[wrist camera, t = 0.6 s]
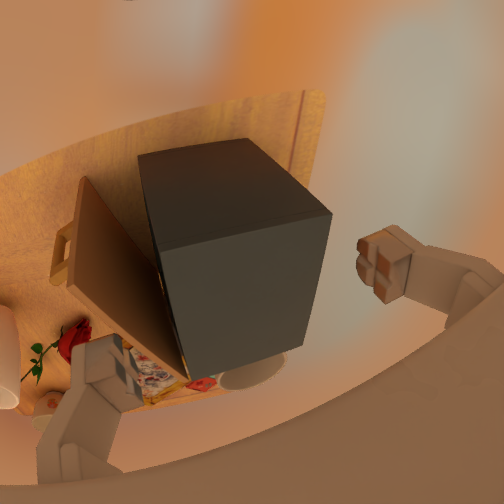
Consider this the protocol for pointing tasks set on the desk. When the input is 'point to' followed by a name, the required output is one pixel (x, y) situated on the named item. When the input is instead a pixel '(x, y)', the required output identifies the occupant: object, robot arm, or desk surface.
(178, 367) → the door
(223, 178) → the cupboard
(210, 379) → the handheld gaming console
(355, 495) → the robot arm
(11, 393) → the cup
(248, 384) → the planter
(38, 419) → the bowl
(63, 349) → the flower
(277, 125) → the desk surface
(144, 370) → the picture frame
